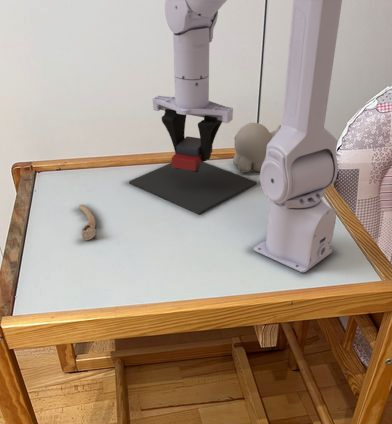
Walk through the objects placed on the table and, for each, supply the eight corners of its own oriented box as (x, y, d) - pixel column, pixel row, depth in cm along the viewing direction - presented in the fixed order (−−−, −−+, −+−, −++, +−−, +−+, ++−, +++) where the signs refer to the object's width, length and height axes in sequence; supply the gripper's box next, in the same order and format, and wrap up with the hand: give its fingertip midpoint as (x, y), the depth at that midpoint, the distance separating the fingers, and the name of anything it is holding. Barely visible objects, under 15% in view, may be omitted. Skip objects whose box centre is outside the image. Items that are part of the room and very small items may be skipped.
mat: (256, 184, 98) (256, 181, 98) (199, 214, 90) (199, 212, 89) (187, 158, 107) (187, 155, 107) (129, 183, 99) (129, 181, 98)
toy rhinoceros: (297, 172, 102) (303, 128, 96) (237, 176, 101) (239, 132, 95) (286, 157, 107) (291, 114, 102) (229, 161, 106) (231, 118, 100)
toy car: (171, 171, 93) (195, 175, 92) (171, 149, 91) (195, 153, 90) (190, 152, 100) (212, 156, 98) (189, 131, 97) (212, 134, 96)
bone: (93, 207, 92) (91, 196, 91) (98, 240, 84) (96, 228, 82) (78, 209, 92) (76, 197, 90) (82, 242, 84) (80, 230, 82)
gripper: (141, 75, 86) (146, 157, 95) (221, 87, 81) (218, 172, 90) (162, 64, 90) (166, 143, 99) (239, 75, 85) (235, 157, 95)
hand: (192, 156), depth 95 cm, fingers closed on toy car, 5 cm apart
